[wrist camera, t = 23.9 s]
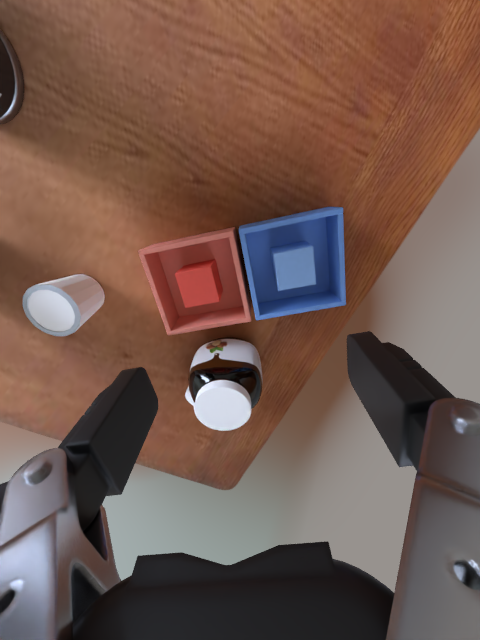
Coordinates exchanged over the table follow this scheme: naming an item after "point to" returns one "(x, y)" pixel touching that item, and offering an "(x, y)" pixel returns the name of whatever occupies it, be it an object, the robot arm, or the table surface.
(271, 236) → the blue bin
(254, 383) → the spread jar
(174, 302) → the red bin
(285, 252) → the blue block
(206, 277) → the red block
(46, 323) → the shot glass
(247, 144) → the table surface
